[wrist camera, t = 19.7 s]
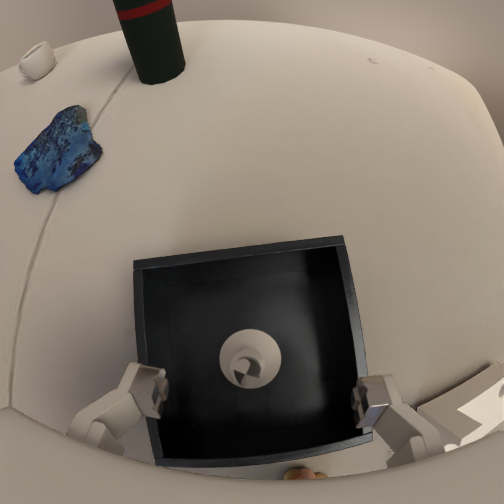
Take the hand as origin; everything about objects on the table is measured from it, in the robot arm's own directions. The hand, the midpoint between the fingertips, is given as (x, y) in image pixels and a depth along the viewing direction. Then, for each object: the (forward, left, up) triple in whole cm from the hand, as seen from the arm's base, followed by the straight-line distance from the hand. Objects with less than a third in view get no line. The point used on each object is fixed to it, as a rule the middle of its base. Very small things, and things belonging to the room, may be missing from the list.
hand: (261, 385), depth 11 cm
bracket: (-12, -21, -14) cm, 28 cm away
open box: (+1, 0, -14) cm, 14 cm away
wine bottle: (+44, +9, -14) cm, 47 cm away
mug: (+62, +44, -14) cm, 77 cm away
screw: (+1, +1, -13) cm, 13 cm away
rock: (+29, +26, -14) cm, 41 cm away
